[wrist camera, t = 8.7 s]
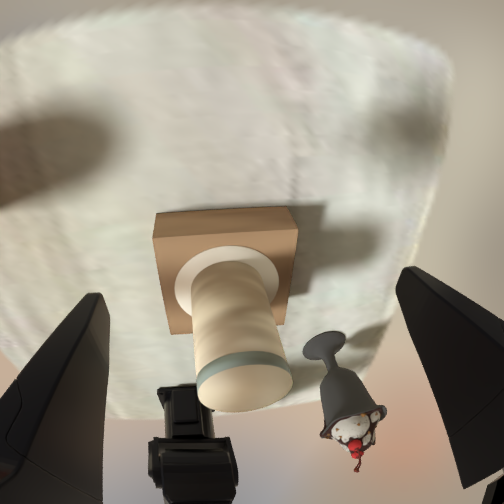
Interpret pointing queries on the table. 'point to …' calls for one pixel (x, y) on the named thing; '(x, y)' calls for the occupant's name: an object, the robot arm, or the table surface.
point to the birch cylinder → (236, 340)
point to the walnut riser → (223, 254)
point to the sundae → (344, 399)
